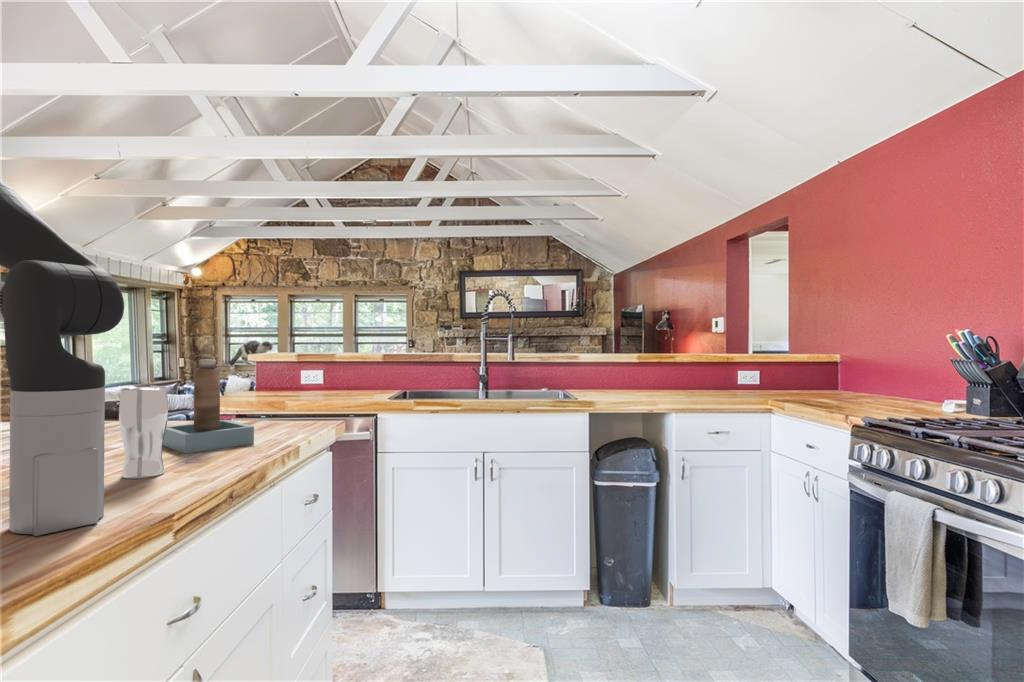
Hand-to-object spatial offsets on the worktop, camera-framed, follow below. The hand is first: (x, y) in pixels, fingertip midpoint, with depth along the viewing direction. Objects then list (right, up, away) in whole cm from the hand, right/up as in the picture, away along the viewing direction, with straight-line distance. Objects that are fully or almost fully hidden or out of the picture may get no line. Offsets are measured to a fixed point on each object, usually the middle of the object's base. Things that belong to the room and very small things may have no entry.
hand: (113, 305), depth 104 cm
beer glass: (+15, -30, -13) cm, 36 cm away
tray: (+11, -30, +13) cm, 35 cm away
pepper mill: (+11, -29, +13) cm, 34 cm away
